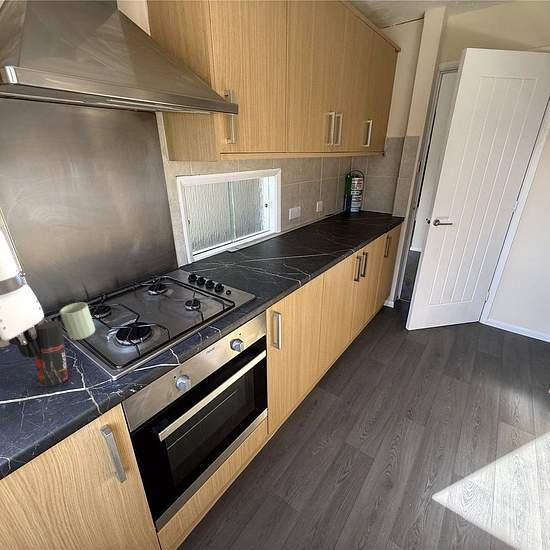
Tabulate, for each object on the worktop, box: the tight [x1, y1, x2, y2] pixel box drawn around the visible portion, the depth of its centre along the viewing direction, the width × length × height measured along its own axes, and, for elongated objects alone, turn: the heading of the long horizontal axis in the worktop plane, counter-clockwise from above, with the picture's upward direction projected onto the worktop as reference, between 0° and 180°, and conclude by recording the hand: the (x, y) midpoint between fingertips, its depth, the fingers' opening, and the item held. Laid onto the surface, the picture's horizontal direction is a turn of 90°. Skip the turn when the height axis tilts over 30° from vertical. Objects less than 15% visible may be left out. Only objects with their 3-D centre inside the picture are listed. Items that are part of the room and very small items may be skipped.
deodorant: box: [35, 320, 69, 388], centre depth 74 cm, size 6×6×15 cm
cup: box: [59, 301, 96, 341], centre depth 94 cm, size 7×7×10 cm
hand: (32, 354), depth 70 cm, fingers closed
